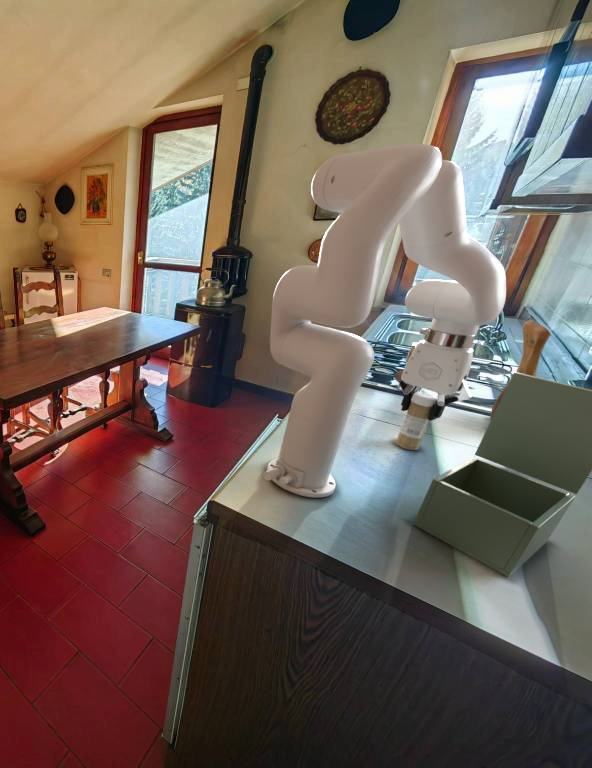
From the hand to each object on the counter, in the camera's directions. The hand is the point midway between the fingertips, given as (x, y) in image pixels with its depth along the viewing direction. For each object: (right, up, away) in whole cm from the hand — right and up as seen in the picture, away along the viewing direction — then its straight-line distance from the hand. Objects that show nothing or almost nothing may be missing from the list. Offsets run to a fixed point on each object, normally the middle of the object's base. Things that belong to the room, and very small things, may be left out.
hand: (419, 413), depth 91 cm
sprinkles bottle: (0, -8, +3) cm, 9 cm away
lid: (-3, -1, -27) cm, 27 cm away
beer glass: (+28, +5, +36) cm, 46 cm away
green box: (-10, -19, -23) cm, 32 cm away
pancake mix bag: (+33, -5, +13) cm, 36 cm away
